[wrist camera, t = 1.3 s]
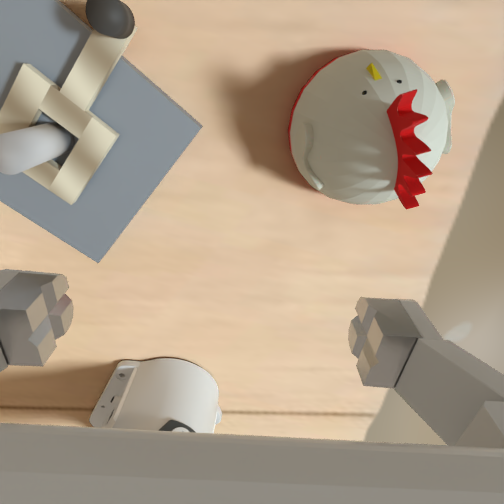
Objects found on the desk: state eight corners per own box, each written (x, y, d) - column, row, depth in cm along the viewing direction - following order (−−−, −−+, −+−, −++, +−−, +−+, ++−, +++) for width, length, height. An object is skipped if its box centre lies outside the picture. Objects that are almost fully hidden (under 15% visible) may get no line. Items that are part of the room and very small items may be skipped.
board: (103, 257, 41) (65, 304, 32) (-70, 145, 34) (-174, 168, 26) (202, 126, 34) (187, 142, 25) (8, -44, 27) (-99, -97, 19)
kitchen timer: (421, 29, 30) (558, -9, 17) (429, 174, 36) (533, 231, 23) (272, 78, 32) (289, 80, 19) (304, 209, 38) (333, 280, 25)
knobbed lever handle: (75, 201, 35) (56, 215, 32) (-10, 143, 32) (-42, 152, 29) (175, 49, 29) (165, 46, 25) (80, -40, 26) (54, -58, 22)
